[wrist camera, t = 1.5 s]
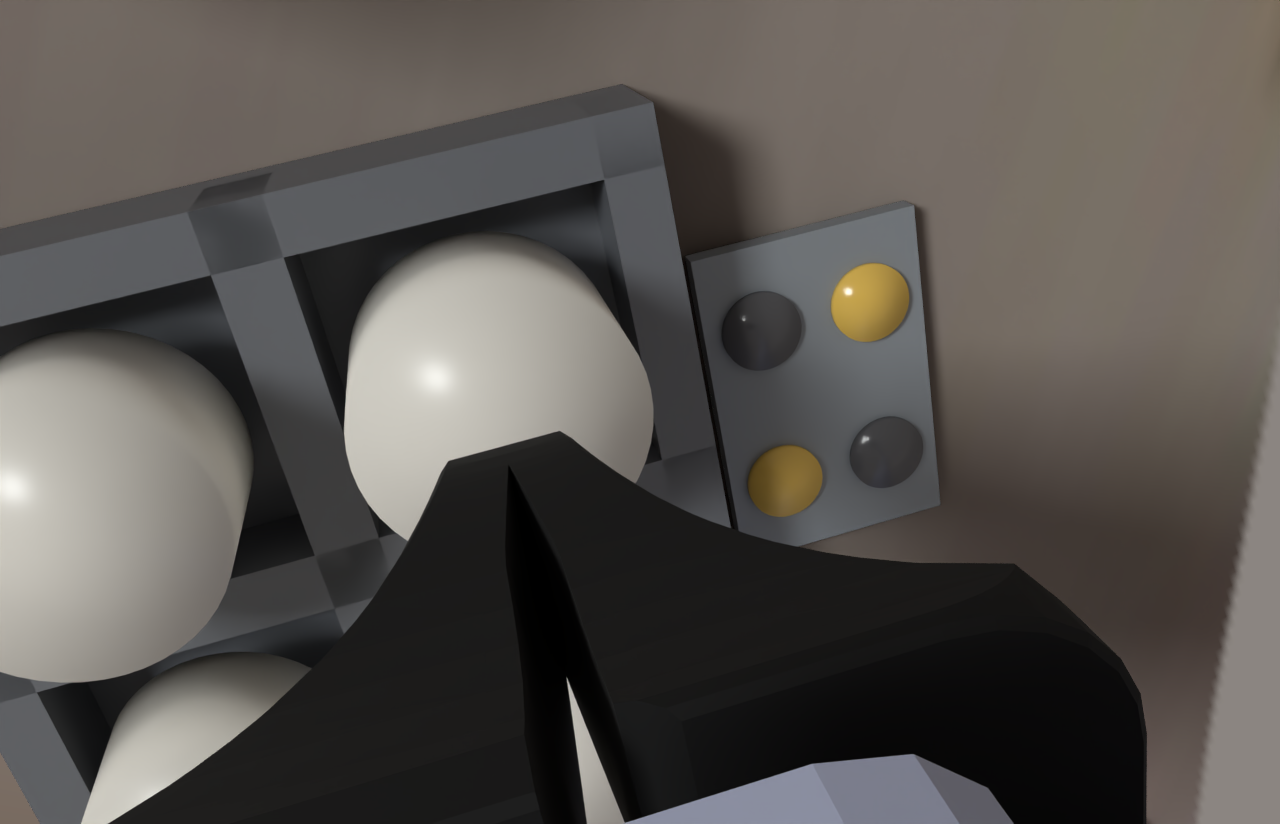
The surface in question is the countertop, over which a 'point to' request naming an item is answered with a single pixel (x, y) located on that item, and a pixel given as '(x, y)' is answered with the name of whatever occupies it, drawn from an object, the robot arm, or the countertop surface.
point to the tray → (340, 354)
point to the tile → (819, 375)
